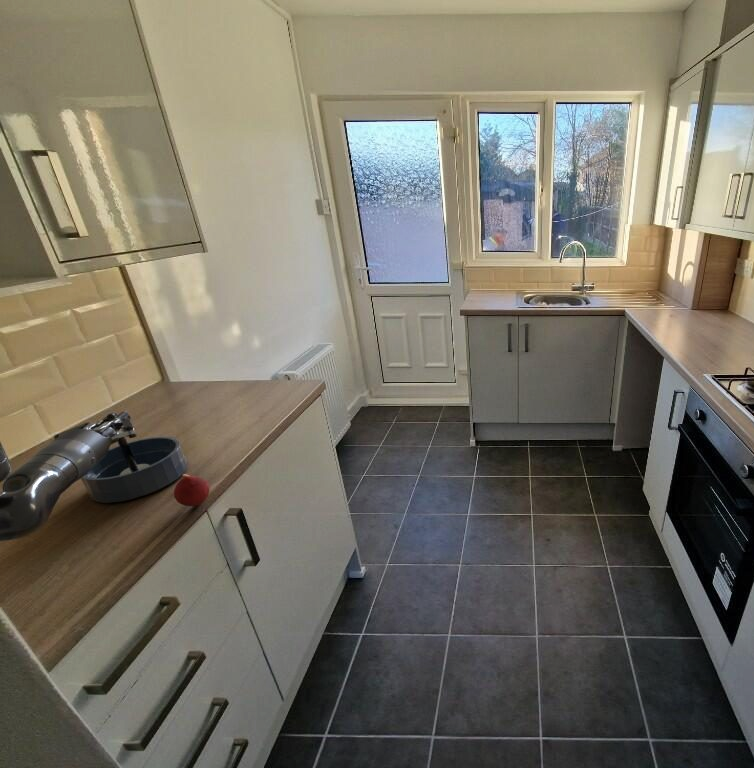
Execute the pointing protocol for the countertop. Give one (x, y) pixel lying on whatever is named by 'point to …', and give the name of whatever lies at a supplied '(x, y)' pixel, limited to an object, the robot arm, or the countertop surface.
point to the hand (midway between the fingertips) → (121, 416)
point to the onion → (191, 490)
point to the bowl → (161, 472)
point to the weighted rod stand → (127, 453)
